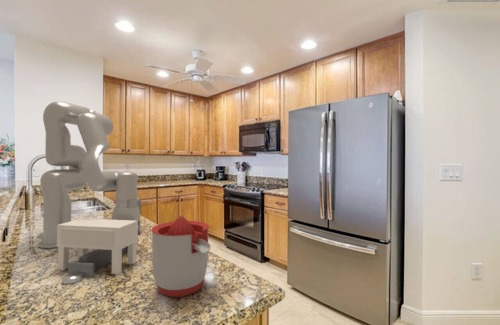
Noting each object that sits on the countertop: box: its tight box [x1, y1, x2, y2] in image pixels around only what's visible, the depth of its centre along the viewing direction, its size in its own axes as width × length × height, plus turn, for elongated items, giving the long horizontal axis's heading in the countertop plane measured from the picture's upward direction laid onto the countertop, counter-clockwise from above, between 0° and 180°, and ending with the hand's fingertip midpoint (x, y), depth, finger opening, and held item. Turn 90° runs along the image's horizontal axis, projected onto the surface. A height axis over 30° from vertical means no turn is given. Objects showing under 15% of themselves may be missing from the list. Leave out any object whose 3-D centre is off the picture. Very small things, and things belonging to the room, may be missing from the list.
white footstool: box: [56, 217, 139, 275], centre depth 85 cm, size 22×10×14 cm, turn 82°
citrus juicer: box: [151, 215, 211, 298], centre depth 70 cm, size 16×17×20 cm
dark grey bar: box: [67, 247, 128, 279], centre depth 90 cm, size 8×26×6 cm, turn 172°
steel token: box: [61, 272, 84, 286], centre depth 74 cm, size 5×5×2 cm
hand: (126, 249), depth 100 cm, fingers closed on dark grey bar, 2 cm apart
